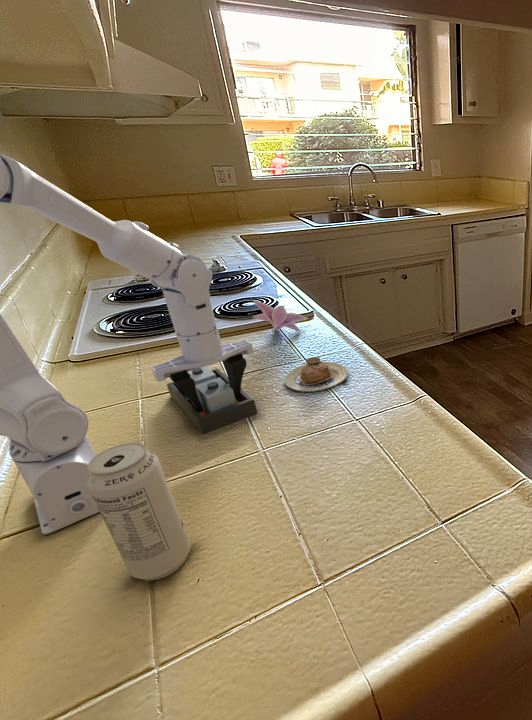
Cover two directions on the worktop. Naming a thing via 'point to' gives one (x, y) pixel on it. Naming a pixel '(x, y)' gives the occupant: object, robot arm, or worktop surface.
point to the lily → (278, 317)
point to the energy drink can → (138, 510)
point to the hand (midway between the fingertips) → (218, 403)
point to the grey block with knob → (202, 375)
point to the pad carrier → (218, 418)
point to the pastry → (316, 374)
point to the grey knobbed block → (215, 395)
